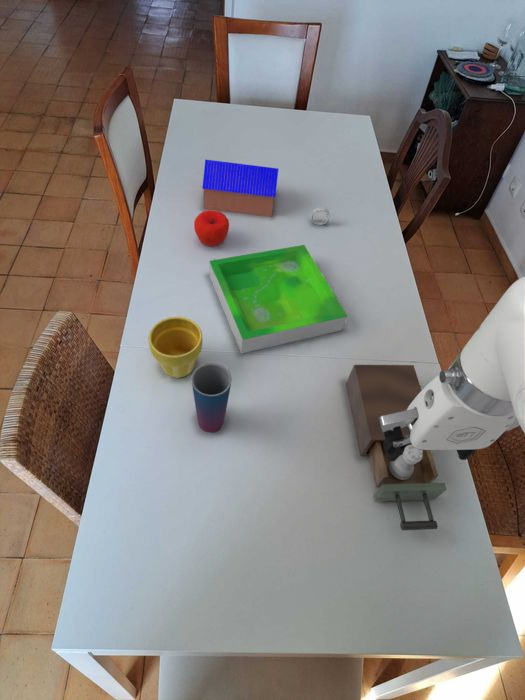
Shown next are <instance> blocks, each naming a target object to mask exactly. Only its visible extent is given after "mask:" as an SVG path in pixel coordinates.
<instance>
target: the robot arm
mask: <svg viewBox="0 0 525 700" xmlns="http://www.w3.org/2000/svg"><path fill="white" fill-rule="evenodd" d="M421 390H422V391H421V392H420V393H419V394H418V395H417V396H416V398H415V399H414V400H413V401H412V403H411V404H410V405H409V407H408V408H407V410H406V411H401V412H397V413H393V414H388V415H384V416H381V417H379V421H380V425H381V429H382V431H383V433H384V436H385V440H384V442H383V446H384V451H385V452H388V457H389V460H390V461H395V460H396V459H397V458H398V457H399V456H400V454H401V453H402V452H403V451H404V450H405V446H404V445H406V444H409V443H412V446H413V447H415V448H417V449H421V450H431V451H456V452H457V456H458V459H460V460H461V461H466V460H468V459H469V458H470V457H471V456H472V455H473V454H474V453H476V451H478V450H482V449H486V448H488V447H489V446H491V445H492V444H493V443H495V442H496V441H497V440H498V439H499V438H502V437H503V436H504V435H505V434H506V433H505V432H509V431H511V430H514V429H515V428H518V427H519V426H520V428H521V430H522V432H523V433H524V434H525V275H523V276H522V277H519V278H518V279H517V280H515V281H514V282H513V283H512V284H511V285H510V286H509V287H508V288H507V289H506V291H505V292H504V293H503V294H502V296H501V297H500V298H499V300H498V301H497V302H496V304H495V305H494V307H493V308H492V309H491V311H490V312H489V313H488V314H487V316H486V317H485V318H484V320H483V322H481V324H480V325H479V327H478V328H477V329H476V330H475V332H474V333H473V335H472V336H471V337H470V339H469V340H468V342H467V343H466V344H465V346H464V347H463V348H462V349H461V350H460V352H459V353H458V355H457V356H456V357H455V358H454V360H453V362H452V363H451V364H450V365H449V367H448V368H447V369H442V370H440V372H439V374H438V375H436V376H435V377H434V378H433V379H432V380H431V381H429V383H427V384H426V386H424V387H423V388H422V389H421ZM406 426H408V429H409V433H410V434H409V435H406V436H404V437H403V434H402V431H401V428H403V427H406Z"/></svg>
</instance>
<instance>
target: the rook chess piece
mask: <svg viewBox="0 0 525 700" xmlns="http://www.w3.org/2000/svg"><path fill="white" fill-rule="evenodd" d="M422 453H423V451H422V450H420V449H417V448H415V447H413V446H412V445H408V446H406V448H405V450H404V452H403V455H400V456H399V457H398V458H397V459H396V460H395V461H390V463H389V470H390V472H391V473H392V475H394V476H395V477H396V478H398V479H400V480H406V479H408V478H410V476H411V475H412V474H413V471H414V464H416V463H417V462H419V461H421V460H422V457H423V454H422Z"/></svg>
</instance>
